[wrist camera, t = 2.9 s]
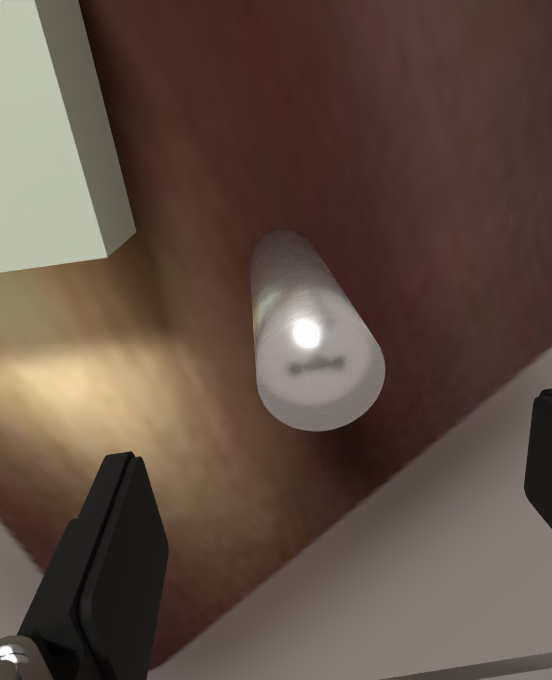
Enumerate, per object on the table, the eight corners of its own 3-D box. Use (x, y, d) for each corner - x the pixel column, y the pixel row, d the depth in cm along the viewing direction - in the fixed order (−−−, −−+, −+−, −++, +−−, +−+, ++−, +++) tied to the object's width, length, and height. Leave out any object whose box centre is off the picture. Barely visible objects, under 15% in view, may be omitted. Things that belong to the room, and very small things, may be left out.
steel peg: (313, 225, 26) (383, 308, 13) (319, 291, 28) (386, 421, 15) (244, 234, 26) (247, 327, 13) (255, 300, 28) (266, 439, 15)
